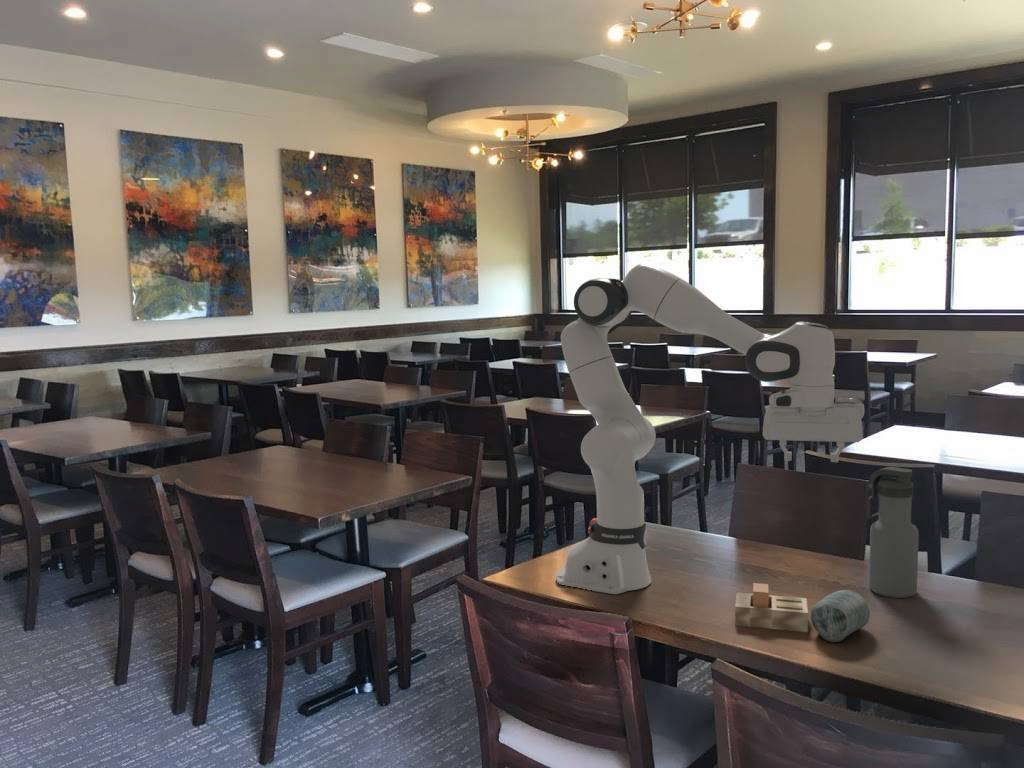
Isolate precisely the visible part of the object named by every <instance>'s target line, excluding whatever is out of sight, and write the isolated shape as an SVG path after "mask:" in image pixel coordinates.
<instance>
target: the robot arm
mask: <svg viewBox="0 0 1024 768" xmlns="http://www.w3.org/2000/svg"><path fill="white" fill-rule="evenodd" d="M573 307H574V310H575V313H576V314H577V316H578V318H577V319H576V320H574V321H571V322H570V323H569V324H567V325H566V326H565V327H564V328H563V329H562V331H561V333H560V343H561V349H562V354H563V358H564V361H565V365H566V368H567V371H568V373H569V376H570V380H571V382H572V385H573V387H574V390H575V393H576V395H577V398H578V401H579V403H580V405H581V406H582V407H583V408H585V409H586V410H587V411H588V412H589V414H590V415H592V417H593V418H594V420H595V421H596V423H597V425H595V426H594V427H593V428H591V429H590V430H588V432H587V433H586V434H585V435H584V437H583V439H582V441H581V444H580V453H581V457H582V459H583V461H584V462H585V464H586V465H587V466H588V467H589V469H590V470H591V471H590V472H591V474H592V477H593V478H592V479H593V481H594V487H595V494H596V495H595V496H596V497H595V498H596V517H593V518H592V519H591V520H590V521H589V525H588V531H587V532H588V537H587V538H585V539H584V540H582V541H581V542H580V543H578V544H576V546H574V547H573V548H572V549H571V550H570V551H569V553H568V555H567V558H566V562H565V566H563V567H562V568H560V569H559V570H558V572H557V573H556V577H555V578H556V579H555V582H556V581H557V582H558V583H559V584H562V585H567V586H572V587H571V588H573V587H578V588H577V589H579V588H583V589H582V590H585V589H587V591H591V590H592V592H598V593H603V594H611V595H618V594H619V595H620V594H622V593H625V592H629V591H635V590H636V591H637V590H641V589H644V588H646V587H648V586H649V585H651V583H652V577H651V575H650V571H649V565H648V560H647V555H646V553H647V552H646V546H647V535H648V534H647V524H646V522H645V496H644V495H645V494H644V493H645V492H644V489H643V487H642V486H641V485H640V483H639V480H638V477H637V472H636V466H635V465H636V462H637V461H638V460H640V459H642V458H644V457H645V456H646V455H648V454H649V453H650V452H651V449H652V448H653V447H654V445H655V442H656V440H657V439H656V438H657V436H656V435H657V434H656V430H655V427H654V425H653V424H652V423H651V421H650V420H649V419H647V418H646V416H645V417H644V416H643V414H642V413H641V411H640V410H639V408H638V407H637V405H636V403H635V402H634V401H633V399H632V397H631V396H630V394H629V393H628V391H627V389H626V387H625V384H624V382H623V380H622V377H621V375H620V372H619V370H618V367H617V364H616V361H615V359H614V357H613V354H612V351H611V348H610V345H609V343H608V335H610V334H612V333H613V332H614V331H615V330H617V329H618V328H619V327H620V326H622V325H623V324H624V323H625V322H627V320H628V319H629V317H631V316H632V315H631V314H632V313H633V311H635V312H640V313H642V314H644V315H645V316H648V317H649V318H650V319H652V320H654V321H655V322H657V323H658V324H661V325H663V326H664V327H666V328H669V329H671V330H674V331H676V332H679V333H683V334H691V335H692V334H696V335H701V336H705V337H711V338H713V339H716V340H718V341H720V342H722V343H723V344H725V345H726V346H729V347H730V348H732V349H734V350H736V351H737V352H739V353H740V354H743V355H744V356H745V358H744V363H745V367H746V370H747V372H748V373H749V375H751V377H752V378H754V379H755V380H757V381H760V382H763V383H774V382H777V381H782V380H790V388H789V389H785V390H781V391H778V392H775V393H772V394H771V395H769V398H768V401H769V402H768V403H769V406H767V408H766V411H765V414H764V419H763V423H762V425H763V426H762V437H763V438H764V439H765V440H767V441H768V440H769V441H779V446H780V448H781V450H782V452H783V454H784V461H785V462H790V461H793V458H792V457H793V452H792V451H789V450H788V449H787V448H786V446H787V441H794V442H795V441H798V442H801V441H802V442H803V441H806V442H834V443H836V446H837V449H836V450H835V451H834V452H831V453H830V462H831V463H840V461H839V460H840V459H839V458H840V454H841V453H842V451H843V450H844V448H845V443H860V442H861V441H862V439H863V438H864V436H863V435H864V433H863V432H864V431H863V422H862V419H863V418H864V417H865V409H866V408H865V405H864V402H862V401H861V400H859V399H858V398H855V397H851V398H846V397H845V398H844V397H835V379H834V373H833V372H834V368H835V365H836V364H835V363H836V350H835V349H836V347H835V338H834V337H835V336H834V333H833V331H832V330H831V329H830V328H829V327H828V326H827V325H825V324H821V323H816V322H812V321H797V322H795V323H794V324H793V325H792V326H789V327H788V328H786V329H784V330H782V331H780V332H777V333H768V332H763V331H760V330H758V329H757V328H754V327H753V326H751V325H749V324H747V323H745V322H744V321H742V320H740V319H738V318H737V317H734V316H733V315H731V314H729V313H727V312H726V311H724V310H723V309H722V308H721V307H719V306H718V304H716V303H714V302H713V300H711V299H710V298H709V297H708V296H706V295H705V294H704V293H703V292H702V291H701V290H699V289H698V288H696V287H695V286H694V285H692V284H691V283H689V282H687V281H686V280H684V279H683V278H681V277H679V276H677V275H675V274H673V273H671V272H669V271H668V270H665V269H663V268H661V267H657V266H655V265H651V264H649V263H639V264H636V265H635V266H633V267H632V268H631V269H630V270H629V271H628V272H627V274H626V275H625V277H624V278H623V279H622V280H620V278H617V277H614V278H613V277H612V278H610V277H608V278H605V277H604V278H603V277H602V278H600V277H599V278H592V279H589V280H587V281H585V282H583V283H582V284H581V285H580V286H579V287H578V288H577V290H576V291H575V293H574V297H573ZM557 582H556V583H557ZM558 583H557V584H558ZM559 584H558V585H559ZM567 586H566V587H567Z"/></svg>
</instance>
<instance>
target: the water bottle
mask: <svg viewBox="0 0 1024 768" xmlns="http://www.w3.org/2000/svg"><path fill="white" fill-rule="evenodd" d="M884 475H890V476H895V477H890V478H889V477H888V478H883V479H882V477H883V476H884ZM912 477H913V470H912V469H910V468H909V469H908V468H902V467H895V466H888V467H887V466H886V467H884V468H880V469H878V470H875V471H873V472H872V473H871V475H870V476H869V479H868V488H869V489H871V490H870V491H871V492H870V493H871V494H870V496H868V498H867V501H866V517H867V519H870V520H872V519H875V518H877V517H878V519H877V520H876V521H874V522H872V524H871V526H870V530H869V531H870V533H869V567H868V568H869V570H868V572H869V573H868V586H869V589H870V590H871V591H872V592H874V593H875V594H877V595H880V596H883V597H886V598H894V599H907V598H911V597H914V596H915V595H916V594H917V590H918V568H919V567H918V566H919V563H918V562H919V537H920V536H919V529H918V528H917V526H916V525H915V524H913V523H912V498H913V497H914V483H913V482H912V481H911V478H912ZM876 498H878V510H877V512H876V513H874V514H872V513H871V512H872V501H873V499H876Z"/></svg>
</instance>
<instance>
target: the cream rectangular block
mask: <svg viewBox="0 0 1024 768" xmlns="http://www.w3.org/2000/svg"><path fill="white" fill-rule="evenodd" d="M735 595H736V596H735V606H734V609H735V611H734V612H735V613H734V616H735V617H734V618H735V619H734V625H735V626H740V627H749V628H759V629H761V628H762V629H771V630H780V631H782V630H783V631H790V632H791V631H793V632H799V633H800V632H802V633H809V609H808V601H807V597H806V598H805V597H796V596H795V597H794V596H783V595H782V596H781V595H771V594H769V606H768V608H764V607H753V593H745V592H736V593H735Z"/></svg>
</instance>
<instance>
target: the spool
mask: <svg viewBox="0 0 1024 768" xmlns="http://www.w3.org/2000/svg"><path fill="white" fill-rule="evenodd" d="M870 614H871V613H870V608H869V605H868V604H867V602H866V600H865V599H864V598H863V596H861V595H860V594H859V593H858V592H856V591H853V590H850V589H842V590H837V591H835V592H832V593H830V594H827V595H826V596H824V597H823V598H822V599H820V600H819V601H818V602H817V603H815V604H814V605H813V607H812V608H811V611H810V621H811V623H812V626H813V628H814V629H815V630H816V632H817V633H818V635H820V637H821V638H823V640H825V641H827V642H830V643H837V642H838V643H839V642H841V641H843V640H845V638H847V637H848V636H849V635H851V634H852V633H854V632H857V631H858V630H860V629H862V628H863V627H865V626H866V625H867V624H868V622H869V620H870Z"/></svg>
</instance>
